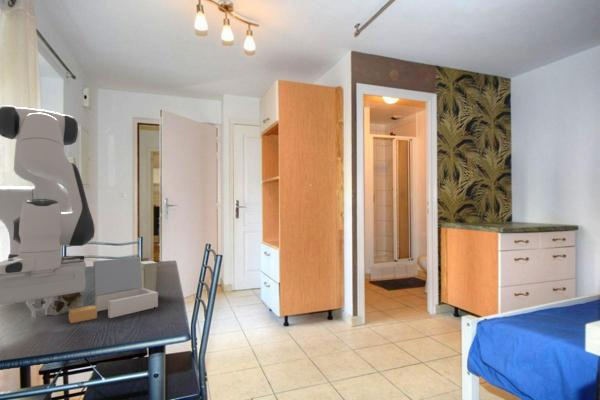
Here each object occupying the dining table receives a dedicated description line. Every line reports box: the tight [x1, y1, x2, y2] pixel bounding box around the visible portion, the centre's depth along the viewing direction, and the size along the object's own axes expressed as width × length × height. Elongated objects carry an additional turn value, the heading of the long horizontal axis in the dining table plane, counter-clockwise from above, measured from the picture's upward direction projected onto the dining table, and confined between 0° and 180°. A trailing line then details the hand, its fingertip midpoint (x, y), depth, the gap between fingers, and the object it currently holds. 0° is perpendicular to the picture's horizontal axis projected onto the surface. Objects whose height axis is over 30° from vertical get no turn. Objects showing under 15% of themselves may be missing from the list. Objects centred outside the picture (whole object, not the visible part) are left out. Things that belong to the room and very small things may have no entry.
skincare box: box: [140, 260, 158, 292], centre depth 116 cm, size 6×4×12 cm
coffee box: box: [39, 255, 85, 316], centre depth 100 cm, size 9×6×16 cm
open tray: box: [94, 287, 159, 319], centre depth 102 cm, size 11×14×4 cm
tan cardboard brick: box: [68, 304, 98, 324], centre depth 93 cm, size 4×6×3 cm, turn 133°
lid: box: [92, 256, 142, 297], centre depth 106 cm, size 10×14×1 cm
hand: (39, 316), depth 85 cm, fingers closed
